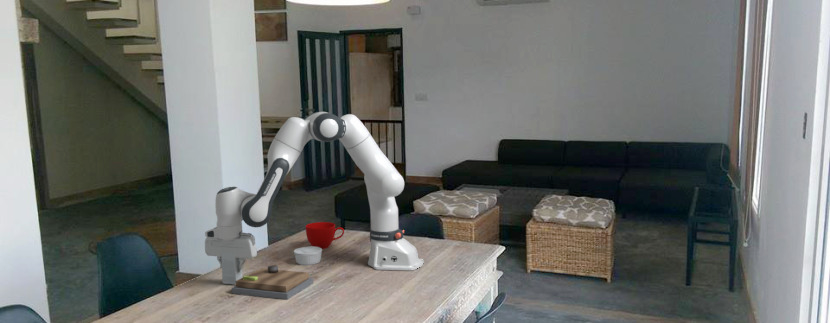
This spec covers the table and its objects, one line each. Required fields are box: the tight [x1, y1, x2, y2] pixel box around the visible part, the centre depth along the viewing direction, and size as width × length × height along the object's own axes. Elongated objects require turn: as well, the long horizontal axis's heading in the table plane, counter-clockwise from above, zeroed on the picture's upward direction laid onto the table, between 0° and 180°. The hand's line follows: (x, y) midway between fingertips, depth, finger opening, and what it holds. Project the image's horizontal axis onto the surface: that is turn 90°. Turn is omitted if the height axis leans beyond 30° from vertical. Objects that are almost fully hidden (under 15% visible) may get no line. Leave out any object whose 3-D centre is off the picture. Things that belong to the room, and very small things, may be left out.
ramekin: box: [293, 245, 323, 266], centre depth 255 cm, size 11×11×5 cm
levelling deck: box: [235, 264, 310, 292], centre depth 222 cm, size 20×16×4 cm
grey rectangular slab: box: [231, 277, 314, 300], centre depth 223 cm, size 22×18×2 cm
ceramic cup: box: [305, 221, 345, 250], centre depth 277 cm, size 13×17×10 cm
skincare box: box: [221, 252, 243, 286], centre depth 229 cm, size 6×4×12 cm
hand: (232, 268), depth 229 cm, fingers closed on skincare box, 6 cm apart
